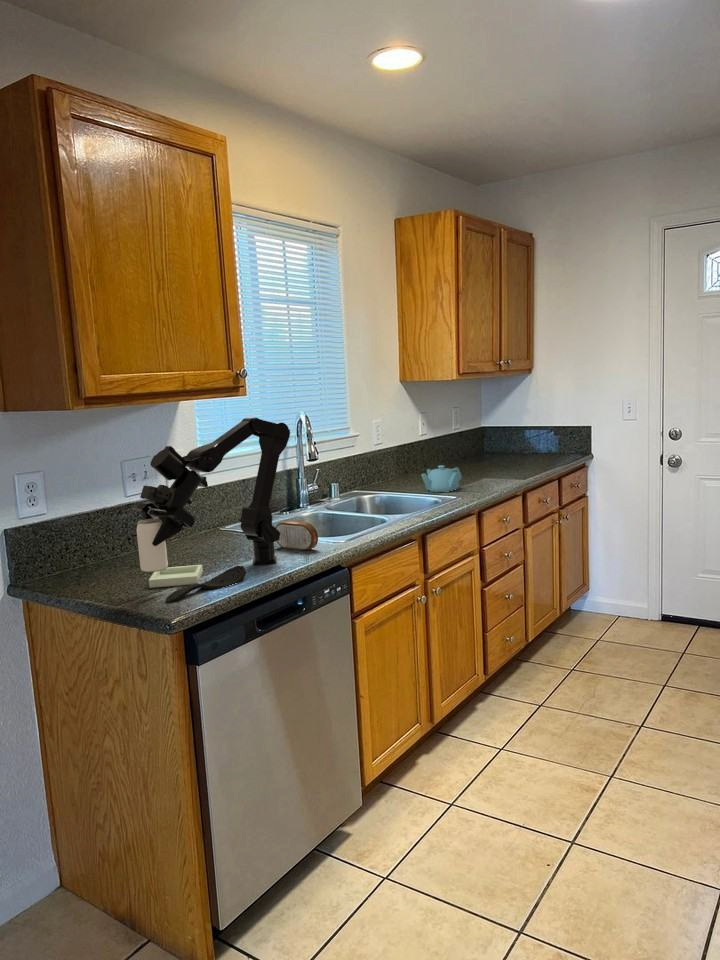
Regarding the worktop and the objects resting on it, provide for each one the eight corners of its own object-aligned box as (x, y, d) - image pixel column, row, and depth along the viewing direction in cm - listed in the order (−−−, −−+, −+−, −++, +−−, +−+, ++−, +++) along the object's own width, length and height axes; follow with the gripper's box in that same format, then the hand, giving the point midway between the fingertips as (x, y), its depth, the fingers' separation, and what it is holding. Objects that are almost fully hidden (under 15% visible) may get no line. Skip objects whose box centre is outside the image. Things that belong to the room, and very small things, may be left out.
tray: (157, 575, 198) (156, 568, 198) (202, 571, 199) (202, 564, 199) (149, 587, 186) (148, 580, 186) (197, 583, 188) (197, 576, 187)
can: (159, 564, 186) (154, 517, 184) (173, 567, 181) (168, 519, 180) (136, 570, 182) (130, 522, 180) (149, 574, 177) (143, 524, 175)
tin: (319, 550, 217) (317, 521, 216) (313, 552, 215) (311, 524, 213) (280, 546, 226) (278, 518, 225) (273, 548, 223) (271, 520, 222)
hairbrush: (153, 590, 175) (229, 560, 194) (155, 605, 175) (231, 574, 195) (176, 595, 170) (252, 564, 190) (179, 610, 171) (254, 577, 190)
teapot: (458, 493, 304) (457, 467, 302) (421, 494, 307) (420, 468, 306) (462, 487, 318) (461, 462, 317) (427, 488, 322) (426, 463, 320)
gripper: (139, 470, 187) (103, 521, 181) (179, 474, 175) (142, 529, 168) (169, 496, 194) (136, 546, 188) (210, 501, 181) (176, 555, 175)
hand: (146, 543), depth 180 cm, fingers closed on can, 6 cm apart
